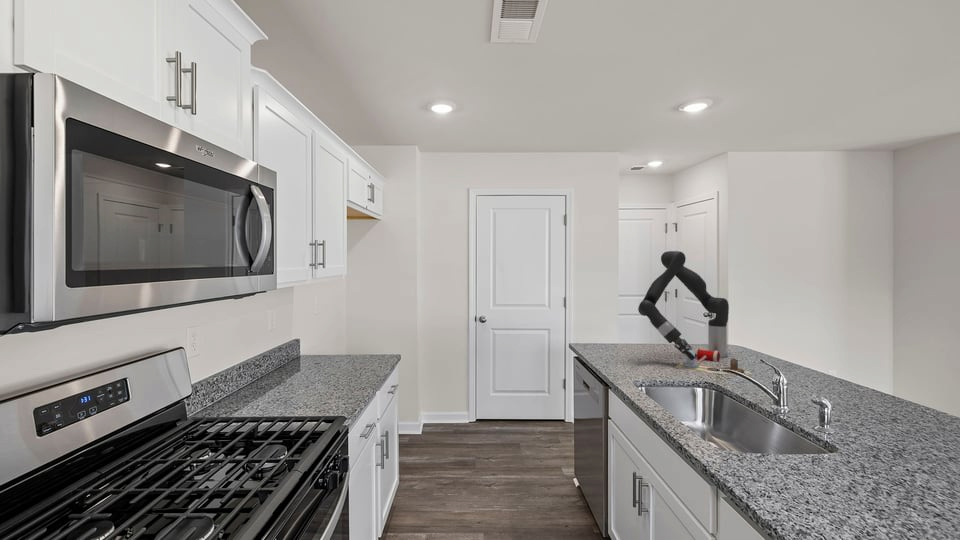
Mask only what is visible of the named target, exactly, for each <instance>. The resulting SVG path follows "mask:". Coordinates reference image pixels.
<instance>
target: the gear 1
mask: <svg viewBox="0 0 960 540" xmlns="http://www.w3.org/2000/svg"><path fill="white" fill-rule="evenodd" d="M689 352H690V353H691V354H692V355H693V356H694V357H695V351H694V349H693V350H689ZM681 363H682V366H683V367H686V368H698V367H699V364H700V363H699V364H697V362H696V359H695V358H694V359H693V360H691V359H690V358H689V357H688V356H687V355H685V362H681Z"/></svg>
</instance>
